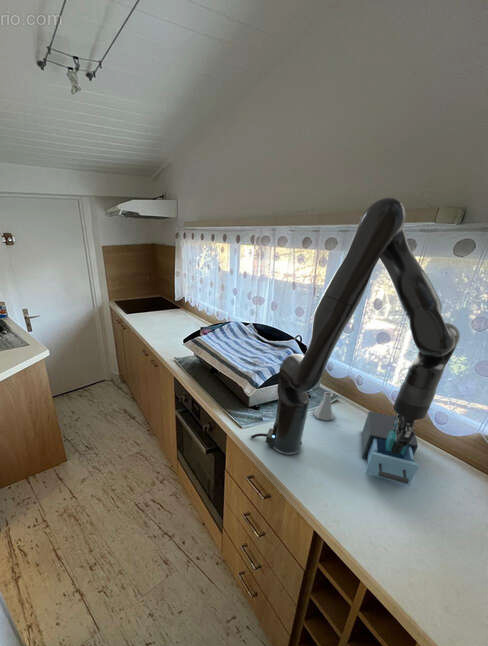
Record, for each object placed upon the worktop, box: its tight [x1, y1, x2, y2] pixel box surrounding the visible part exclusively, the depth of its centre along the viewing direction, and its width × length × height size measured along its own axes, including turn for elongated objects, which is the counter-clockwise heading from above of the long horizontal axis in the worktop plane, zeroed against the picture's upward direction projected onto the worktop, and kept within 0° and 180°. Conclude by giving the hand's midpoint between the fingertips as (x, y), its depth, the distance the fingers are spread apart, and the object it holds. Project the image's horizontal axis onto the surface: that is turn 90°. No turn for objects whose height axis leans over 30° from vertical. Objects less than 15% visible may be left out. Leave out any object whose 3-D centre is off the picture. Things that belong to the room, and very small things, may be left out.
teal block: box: [386, 430, 408, 455], centre depth 89 cm, size 4×4×4 cm
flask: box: [313, 391, 334, 421], centre depth 119 cm, size 7×7×10 cm
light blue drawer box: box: [364, 437, 420, 487], centre depth 92 cm, size 18×11×8 cm, turn 154°
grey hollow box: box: [361, 410, 419, 460], centre depth 101 cm, size 15×13×10 cm
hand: (394, 447), depth 90 cm, fingers closed on teal block, 4 cm apart
